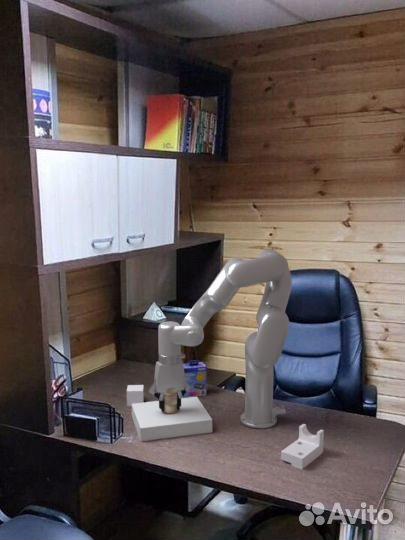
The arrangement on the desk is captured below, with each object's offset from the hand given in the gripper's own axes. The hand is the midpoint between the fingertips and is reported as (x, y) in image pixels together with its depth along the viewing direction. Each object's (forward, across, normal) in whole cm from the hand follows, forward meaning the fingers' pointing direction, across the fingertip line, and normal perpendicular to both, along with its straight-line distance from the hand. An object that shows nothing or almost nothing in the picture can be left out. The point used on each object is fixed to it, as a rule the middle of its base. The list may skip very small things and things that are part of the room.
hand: (170, 408), depth 187 cm
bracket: (+6, -34, +33) cm, 48 cm away
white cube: (+6, +9, -21) cm, 24 cm away
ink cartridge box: (+6, -14, -23) cm, 28 cm away
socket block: (+5, 0, 0) cm, 5 cm away
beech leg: (+5, 0, 0) cm, 5 cm away
